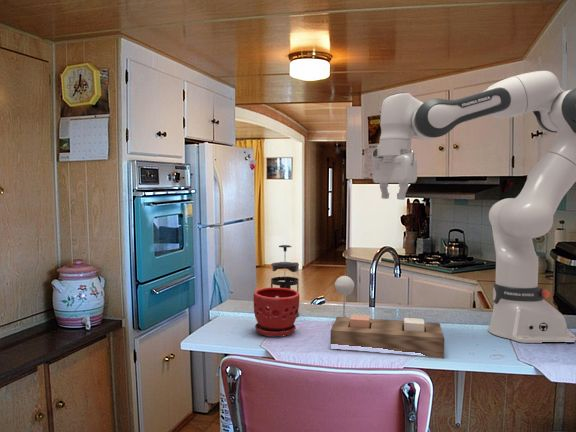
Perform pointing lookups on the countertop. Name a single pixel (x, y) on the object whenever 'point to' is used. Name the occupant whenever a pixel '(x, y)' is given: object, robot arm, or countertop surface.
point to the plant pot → (275, 311)
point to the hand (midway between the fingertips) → (392, 199)
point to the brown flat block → (390, 336)
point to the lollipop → (344, 288)
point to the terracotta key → (360, 321)
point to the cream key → (413, 324)
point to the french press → (287, 280)
